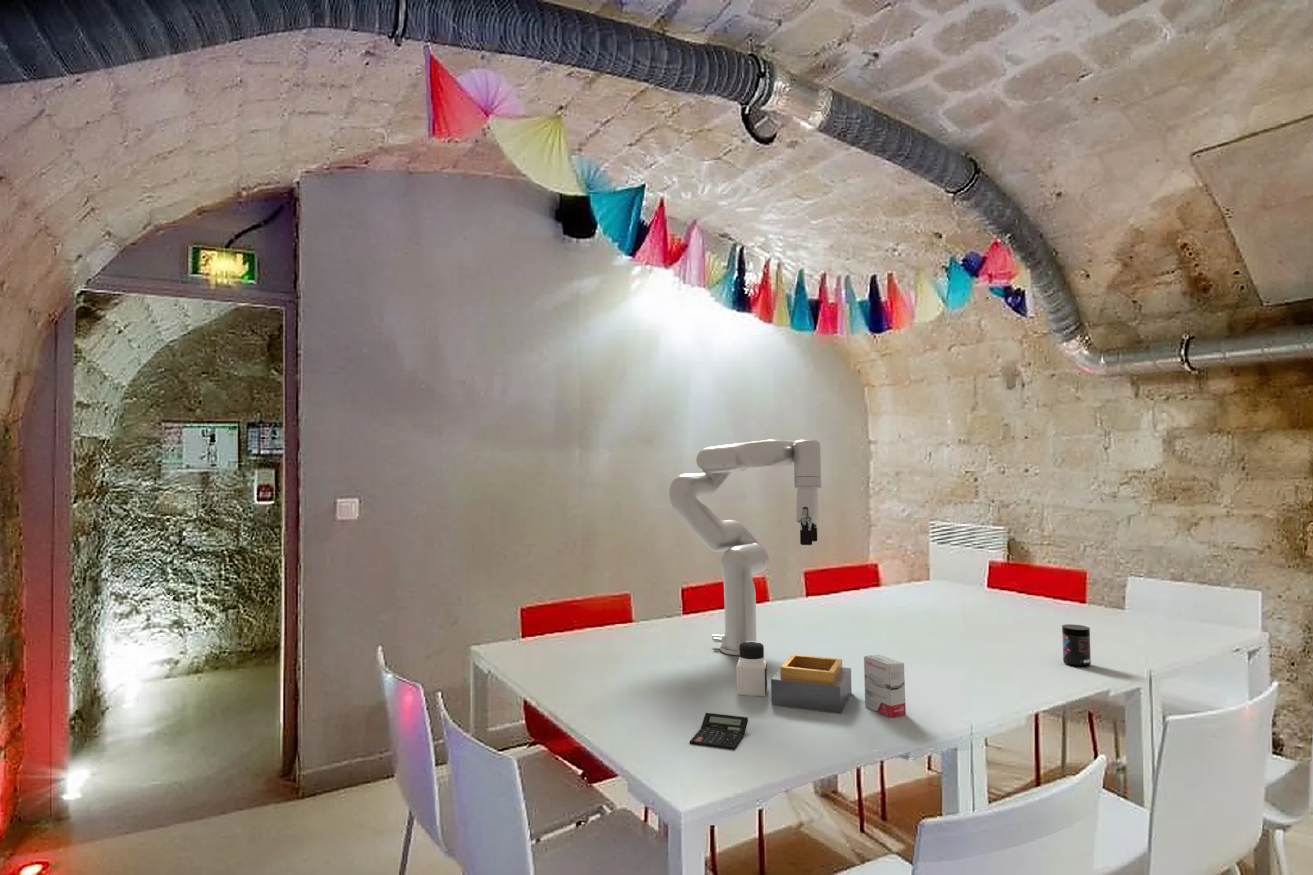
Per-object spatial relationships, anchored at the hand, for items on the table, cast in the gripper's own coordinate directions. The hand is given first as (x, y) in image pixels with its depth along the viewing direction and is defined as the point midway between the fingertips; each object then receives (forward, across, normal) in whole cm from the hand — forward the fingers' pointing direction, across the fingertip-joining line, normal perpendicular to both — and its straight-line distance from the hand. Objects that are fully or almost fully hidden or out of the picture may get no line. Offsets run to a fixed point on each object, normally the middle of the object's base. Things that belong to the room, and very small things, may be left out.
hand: (809, 543), depth 204 cm
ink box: (+34, +33, +22) cm, 53 cm away
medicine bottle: (+34, +30, -10) cm, 46 cm away
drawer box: (+34, +29, +5) cm, 45 cm away
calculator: (+35, +61, -10) cm, 71 cm away
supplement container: (+34, -23, +70) cm, 81 cm away
